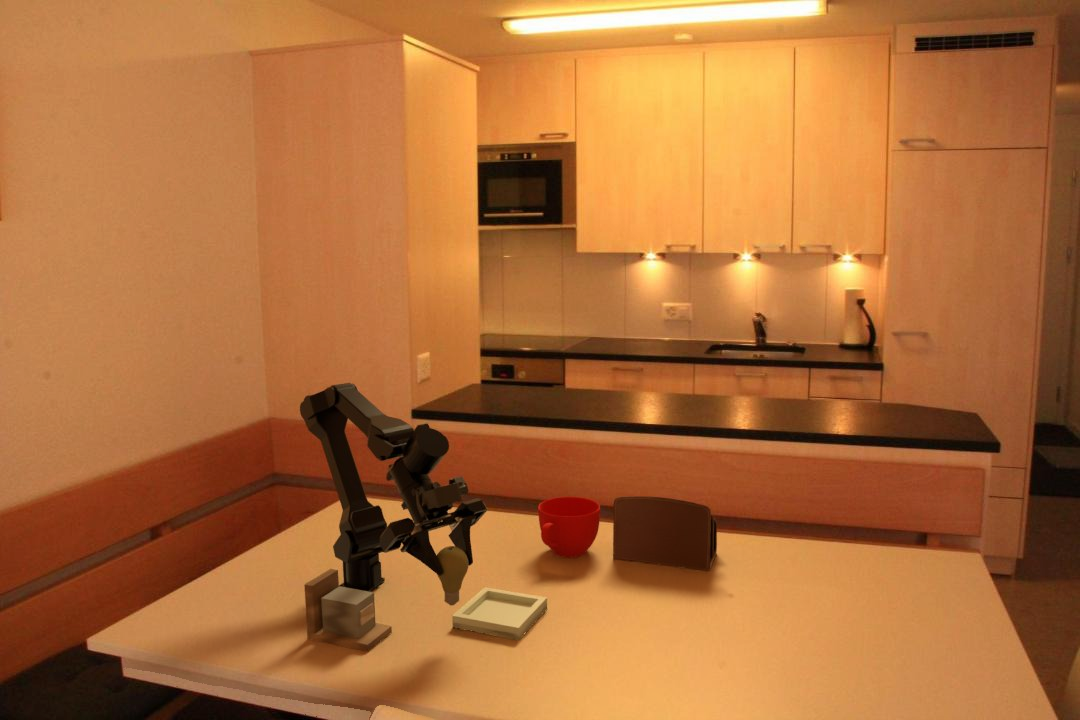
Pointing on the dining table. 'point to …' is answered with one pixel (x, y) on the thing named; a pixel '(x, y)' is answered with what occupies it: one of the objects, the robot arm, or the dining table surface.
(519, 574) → the dining table surface
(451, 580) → the light bulb
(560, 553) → the ceramic cup
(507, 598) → the tray
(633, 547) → the letter holder
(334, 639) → the bookend
